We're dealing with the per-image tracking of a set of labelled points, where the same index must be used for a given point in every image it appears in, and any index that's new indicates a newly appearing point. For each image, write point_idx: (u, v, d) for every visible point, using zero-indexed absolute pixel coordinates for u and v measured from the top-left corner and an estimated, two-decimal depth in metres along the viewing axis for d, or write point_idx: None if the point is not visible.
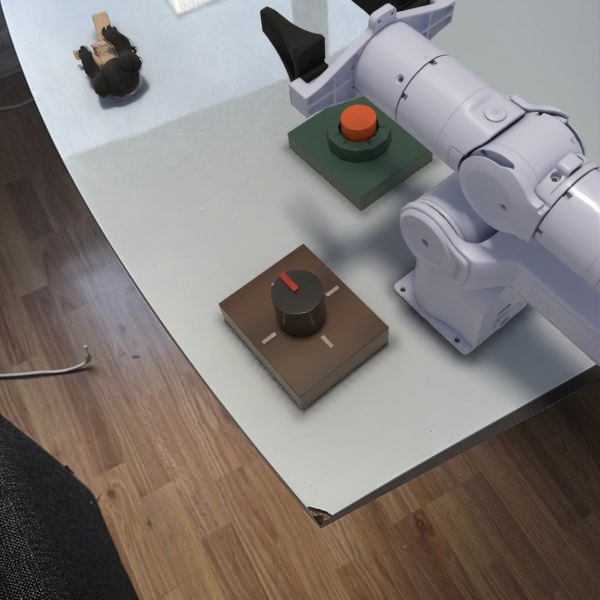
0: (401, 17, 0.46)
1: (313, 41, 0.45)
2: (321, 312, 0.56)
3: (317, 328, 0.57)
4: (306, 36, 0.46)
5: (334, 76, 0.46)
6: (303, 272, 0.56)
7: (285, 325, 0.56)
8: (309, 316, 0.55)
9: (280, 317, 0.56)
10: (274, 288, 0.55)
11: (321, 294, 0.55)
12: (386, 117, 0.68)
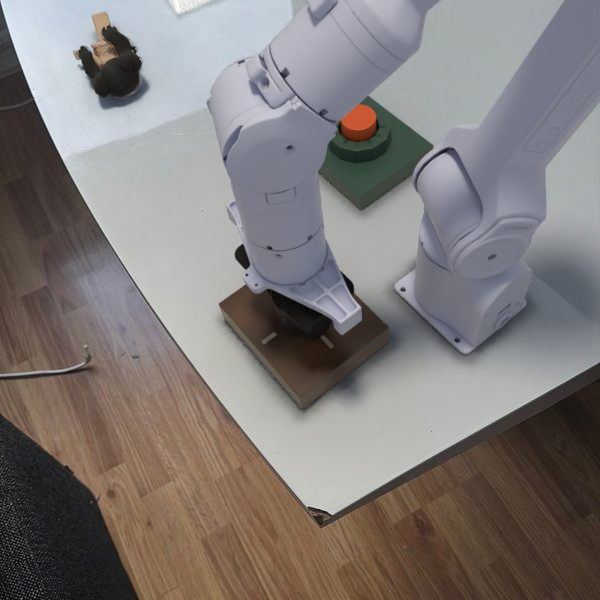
0: (249, 259, 0.50)
1: (289, 316, 0.50)
2: None
3: None
4: None
5: (314, 302, 0.48)
6: None
7: (285, 325, 0.56)
8: None
9: (280, 317, 0.56)
10: None
11: None
12: (386, 117, 0.68)
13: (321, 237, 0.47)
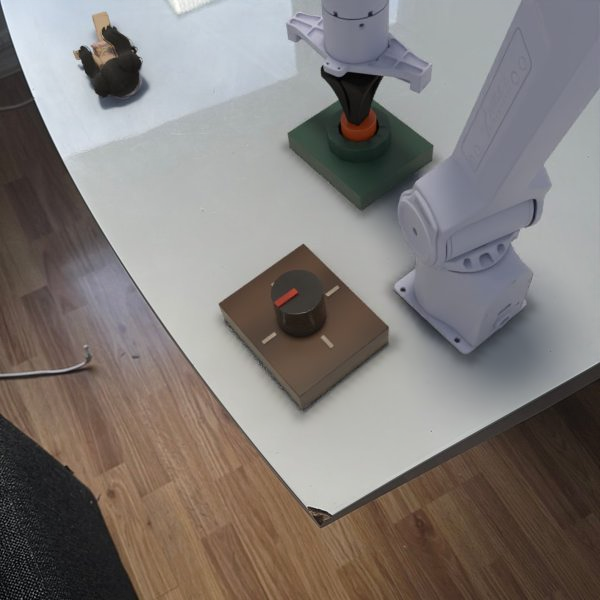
0: (324, 53, 0.59)
1: (349, 85, 0.60)
2: None
3: None
4: (350, 90, 0.61)
5: (392, 68, 0.57)
6: (274, 287, 0.55)
7: (320, 318, 0.56)
8: None
9: (316, 315, 0.55)
10: (291, 311, 0.54)
11: (301, 270, 0.56)
12: (386, 117, 0.68)
13: None
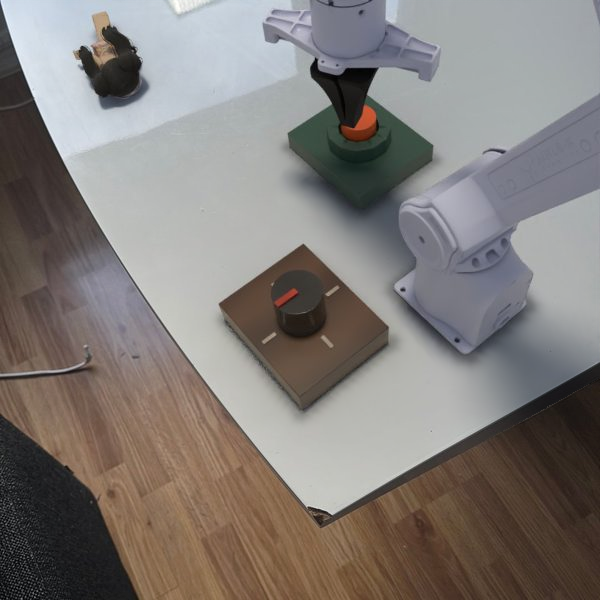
0: (315, 51, 0.51)
1: (347, 83, 0.52)
2: None
3: None
4: (347, 89, 0.54)
5: (397, 57, 0.50)
6: (274, 287, 0.55)
7: (320, 318, 0.56)
8: None
9: (316, 315, 0.55)
10: (291, 311, 0.54)
11: (301, 270, 0.56)
12: (386, 117, 0.68)
13: None
